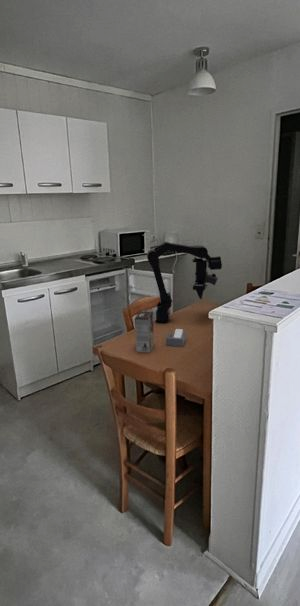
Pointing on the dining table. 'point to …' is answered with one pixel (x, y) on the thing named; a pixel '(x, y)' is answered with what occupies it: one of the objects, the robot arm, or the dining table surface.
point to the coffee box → (144, 331)
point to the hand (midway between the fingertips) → (200, 298)
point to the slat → (178, 333)
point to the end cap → (175, 340)
